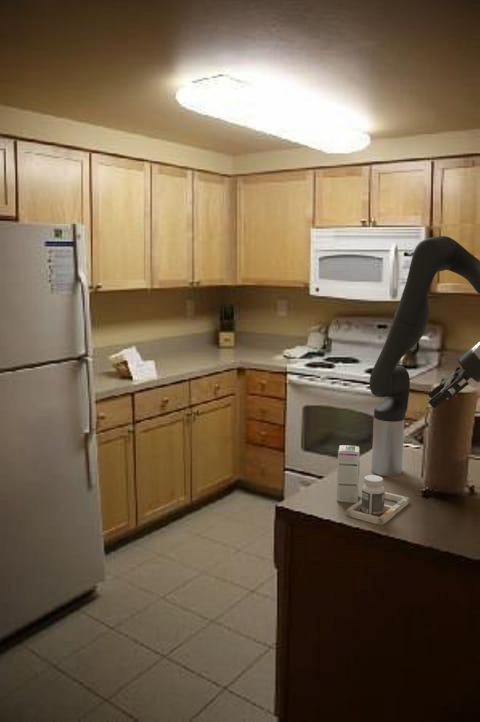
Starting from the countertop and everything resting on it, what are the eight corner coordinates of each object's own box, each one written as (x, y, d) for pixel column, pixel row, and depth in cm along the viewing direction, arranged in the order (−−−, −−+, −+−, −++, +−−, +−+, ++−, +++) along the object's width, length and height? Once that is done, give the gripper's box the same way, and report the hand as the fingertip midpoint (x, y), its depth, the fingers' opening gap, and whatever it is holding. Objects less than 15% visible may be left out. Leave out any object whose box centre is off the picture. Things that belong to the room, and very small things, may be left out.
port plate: (374, 494, 177) (375, 488, 176) (409, 503, 171) (409, 496, 171) (345, 515, 162) (346, 508, 162) (382, 525, 156) (382, 518, 156)
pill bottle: (384, 512, 165) (386, 475, 163) (382, 520, 159) (384, 483, 158) (362, 509, 166) (364, 473, 165) (359, 517, 161) (361, 480, 160)
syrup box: (358, 503, 170) (360, 451, 168) (336, 501, 171) (337, 450, 169) (358, 495, 176) (360, 445, 173) (337, 494, 177) (339, 444, 174)
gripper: (470, 343, 161) (420, 384, 166) (474, 352, 147) (420, 396, 152) (490, 365, 160) (440, 405, 165) (496, 375, 147) (441, 419, 152)
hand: (430, 401), depth 159 cm, fingers open, 8 cm apart
